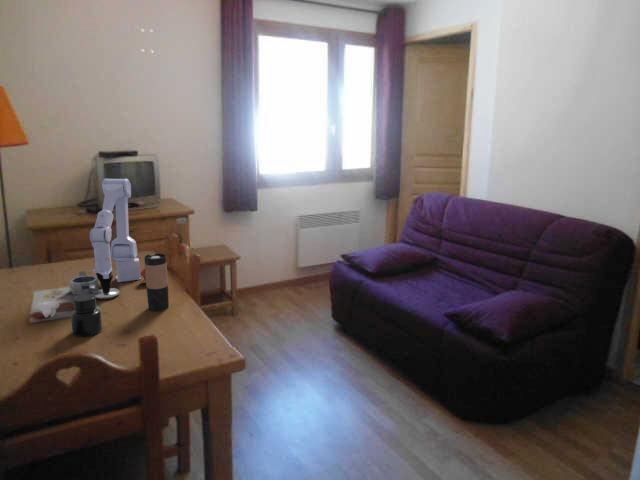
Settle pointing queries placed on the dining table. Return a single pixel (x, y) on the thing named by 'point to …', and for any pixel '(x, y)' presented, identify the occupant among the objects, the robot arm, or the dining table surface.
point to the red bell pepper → (143, 275)
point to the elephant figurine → (48, 308)
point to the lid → (108, 295)
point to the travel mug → (156, 282)
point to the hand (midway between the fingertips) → (106, 291)
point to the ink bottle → (86, 316)
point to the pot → (84, 284)
